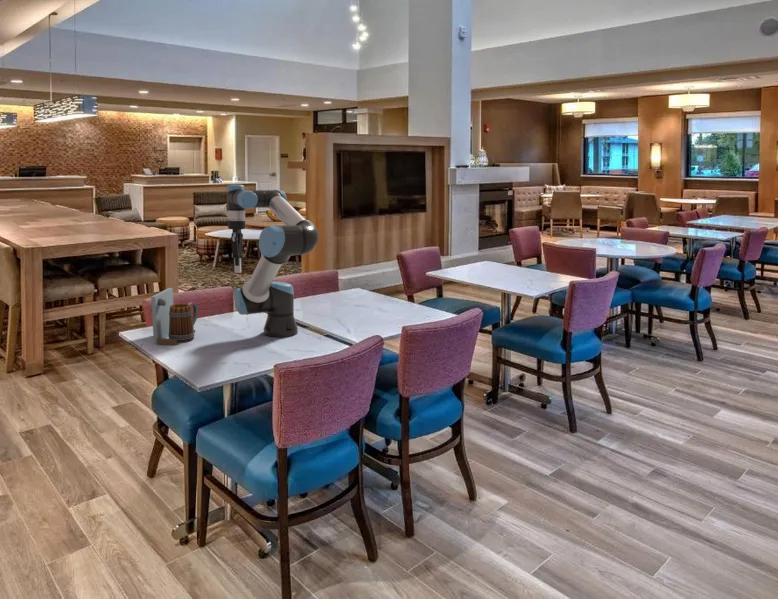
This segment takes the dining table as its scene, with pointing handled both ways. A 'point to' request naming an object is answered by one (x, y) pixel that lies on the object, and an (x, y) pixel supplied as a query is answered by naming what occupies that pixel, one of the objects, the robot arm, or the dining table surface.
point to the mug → (182, 322)
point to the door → (161, 313)
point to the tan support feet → (167, 341)
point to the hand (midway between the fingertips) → (237, 272)
